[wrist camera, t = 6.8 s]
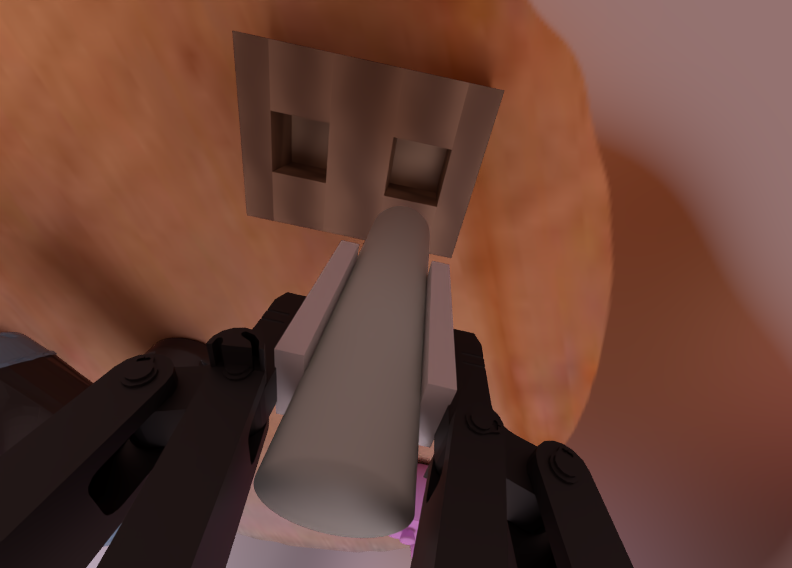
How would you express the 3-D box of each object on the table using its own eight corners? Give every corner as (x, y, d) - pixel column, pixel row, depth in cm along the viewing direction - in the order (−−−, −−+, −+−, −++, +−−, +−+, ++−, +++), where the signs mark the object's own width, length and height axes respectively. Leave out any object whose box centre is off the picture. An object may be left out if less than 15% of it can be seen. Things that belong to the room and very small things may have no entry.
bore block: (273, 196, 35) (246, 215, 30) (269, 41, 27) (232, 30, 22) (448, 233, 35) (451, 258, 30) (491, 90, 28) (504, 90, 23)
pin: (368, 253, 19) (258, 518, 7) (376, 199, 17) (248, 441, 6) (422, 265, 19) (397, 548, 7) (436, 213, 17) (433, 482, 6)
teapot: (388, 500, 70) (382, 564, 61) (368, 449, 60) (357, 516, 51) (449, 501, 68) (451, 568, 58) (438, 448, 58) (440, 518, 48)
